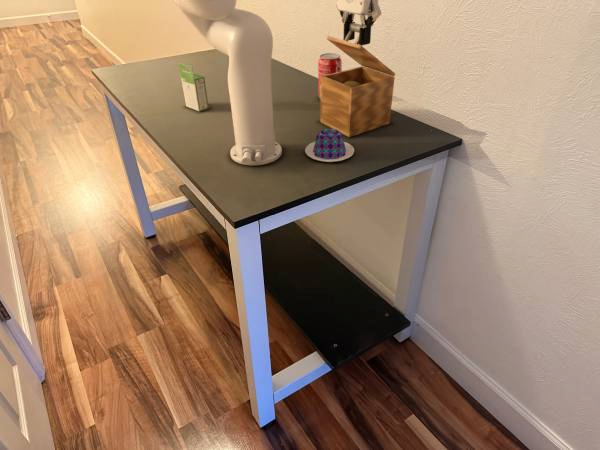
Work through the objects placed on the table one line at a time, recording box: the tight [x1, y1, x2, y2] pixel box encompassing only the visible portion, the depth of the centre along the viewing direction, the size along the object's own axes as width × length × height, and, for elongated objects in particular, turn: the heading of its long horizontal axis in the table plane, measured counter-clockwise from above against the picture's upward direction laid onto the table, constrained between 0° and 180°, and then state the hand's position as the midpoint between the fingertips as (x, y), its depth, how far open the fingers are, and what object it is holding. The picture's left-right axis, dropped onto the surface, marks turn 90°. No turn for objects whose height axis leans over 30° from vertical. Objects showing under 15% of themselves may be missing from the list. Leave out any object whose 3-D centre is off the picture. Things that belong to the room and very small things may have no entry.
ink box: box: [177, 62, 210, 112], centre depth 125 cm, size 7×4×13 cm, turn 47°
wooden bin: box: [319, 65, 395, 138], centre depth 113 cm, size 15×13×13 cm
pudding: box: [304, 128, 355, 163], centre depth 101 cm, size 12×12×5 cm
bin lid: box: [326, 22, 396, 77], centre depth 106 cm, size 15×13×6 cm
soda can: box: [317, 52, 343, 100], centre depth 129 cm, size 7×7×13 cm
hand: (356, 41), depth 103 cm, fingers closed on bin lid, 5 cm apart
